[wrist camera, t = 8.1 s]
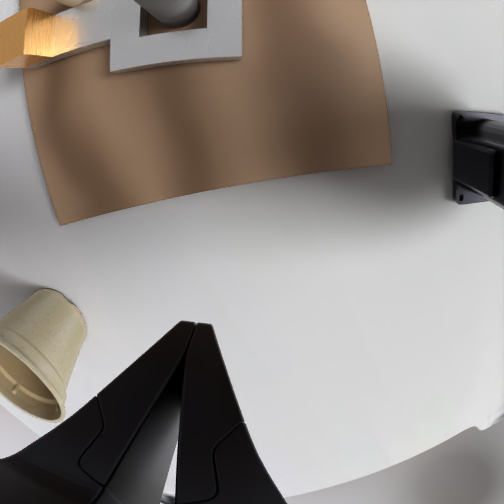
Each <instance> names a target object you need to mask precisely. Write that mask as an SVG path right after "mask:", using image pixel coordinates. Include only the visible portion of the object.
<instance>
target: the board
mask: <svg viewBox="0 0 504 504" xmlns="http://www.w3.org/2000/svg"><path fill="white" fill-rule="evenodd" d="M90 1H93V0H20V11H21V10H23V9H25V8H27V7H31V8H34V9H38V10H41V11H45V12H48V13H51V14H55V15H56V14H58V13H61V12H63V11H66V10H68V9H71V8H73V7H76V6H79V5H82V4H84V3H87V2H90ZM134 1H135V2H136V3H137V4H139V5H140V6H141V7H143V8H144V9H145V10H146V11H148V15H147V36H149V35H155V34H161V33H167V32H175V31H183V30H192V29H202V28H207V7H208V0H134ZM23 76H24V84H25V91H26V98H27V104H28V110H29V115H30V120H31V125H32V130H33V135H34V139H35V144H36V148H37V152H38V156H39V160H40V164H41V167H42V171H43V174H44V178H45V181H46V185H47V188H48V191H49V194H50V198H51V201H52V204H53V207H54V210H55V213H56V216H57V218H58V221H59V224H60V226H62V225H65V224H69V223H72V222H76V221H80V220H83V219H87V218H91V217H94V216H98V215H102V214H106V213H110V212H114V211H118V210H122V209H126V208H130V207H134V206H138V205H143V204H147V203H151V202H156V201H160V200H165V199H169V198H174V197H179V196H183V195H188V194H193V193H198V192H203V191H208V190H213V189H219V188H224V187H229V186H235V185H241V184H246V183H252V182H258V181H264V180H270V179H277V178H283V177H290V176H297V175H304V174H311V173H318V172H326V171H334V170H342V169H351V168H360V167H369V166H379V165H390V164H392V158H391V144H390V133H389V123H388V114H387V105H386V98H385V91H384V84H383V78H382V72H381V66H380V60H379V55H378V50H377V45H376V40H375V36H374V31H373V27H372V23H371V19H370V15H369V11H368V7H367V3H366V0H243V60H228V61H208V62H195V63H185V64H175V65H167V66H159V67H152V68H146V69H140V70H134V71H129V72H123V73H114V72H110V45H106V46H102V47H99V48H95V49H91V50H88V51H85V52H81V53H78V54H75V55H72V56H69V57H66V58H63V59H60V60H57V61H54V62H51V63H49V64H46V65H43V66H41V67H38V68H36V69H35V68H23Z"/></svg>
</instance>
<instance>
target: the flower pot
mask: <svg viewBox="0 0 504 504" xmlns="http://www.w3.org/2000/svg"><path fill="white" fill-rule="evenodd" d="M86 333H87V329H86V324H85V321H84V319H83V316H82V314H81V313H80V311H79V310H78V308H77V307H76V306H75V305H73V304H71V303H70V302H68V301H67V300H66V298H65V297H64V296H63V295H62V294H61V293H59V292H57V291H54V290H51V289H41V290H38V291H37V292H35V293H34V294H33V295H32V296H30V297H29V298H28V299H27V300H25V301H24V302H23V303H21V304H20V305H19V306H17V307H16V308H15V309H14V310H12V311H11V312H10V313H8V314H7V315H6V316H5V317H3V318H2V319H1V320H0V394H1V395H2V396H3V397H4V398H5V399H7V400H8V401H9V402H10V403H12V404H13V405H14V406H16V407H17V408H19V409H20V410H22V411H23V412H25V413H27V414H29V415H31V416H32V417H35V418H37V419H40V420H43V421H46V422H52V423H57V422H61V421H62V420H63V419H64V417H65V413H66V411H65V406H64V403H65V400H66V388H67V385H68V382H69V379H70V376H71V374H72V371H73V368H74V365H75V362H76V360H77V357H78V355H79V352H80V349H81V347H82V344H83V342H84V340H85V337H86Z"/></svg>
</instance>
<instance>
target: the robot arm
mask: <svg viewBox="0 0 504 504" xmlns="http://www.w3.org/2000/svg"><path fill="white" fill-rule="evenodd" d="M458 116H460V121H458ZM452 127H453V177H454V185H453V199H454V201H455V202H456V203H458V204H460V205H461V204H469V203H477V202H485V201H491V202H492V203H494V204H496V205H497V206H499V207H501V208H503V209H504V115H499V114H490V113H479V112H465V111H455V112H454V113H453V114H452ZM460 195H461V197H460V199H459V196H460ZM177 440H178V450H177V468H176V491H175V504H287V503H286V501H285V499H284V498H283V496H282V495H281V493H280V492H279V490H278V488H277V487H276V485H275V484H274V482H273V480H272V479H271V477H270V475H269V474H268V472H267V470H266V468H265V466H264V465H263V463H262V461H261V459H260V457H259V455H258V453H257V451H256V448H255V446H254V444H253V441H252V439H251V437H250V434H249V431H248V429H247V426H246V424H245V423H244V418H243V416H242V413H241V410H240V407H239V404H238V401H237V399H236V396H235V393H234V390H233V387H232V384H231V381H230V378H229V375H228V372H227V369H226V366H225V363H224V360H223V357H222V354H221V351H220V348H219V345H218V341H217V338H216V335H215V332H214V329H213V326H212V325H211V324H206V323H197V324H196V323H195V322H190V321H180V322H179V323H178V324H176V325H175V326H174V327H173V328H172V329H171V330H170V331H169V332H167V333H166V334H165V335H164V336H163V337H162V338H161V339H159V340H158V341H157V342H156V343H155V344H154V345H153V346H152V347H150V348H149V349H148V350H147V351H146V352H145V353H144V354H142V355H141V356H140V357H139V358H138V359H137V360H136V361H135V362H133V363H132V364H131V365H130V366H129V367H128V368H127V369H125V370H124V371H123V372H122V373H121V374H120V375H119V376H118V377H116V378H115V379H114V380H113V381H112V382H111V383H110V384H108V385H107V386H106V387H105V388H104V389H103V390H102V391H100V392H99V393H98V394H97V397H96V396H95V397H93V398H92V399H91V400H90V401H89V402H88V403H87V404H85V405H84V406H83V407H82V408H81V409H79V410H78V411H77V412H76V413H75V414H73V415H72V416H71V417H70V418H68V419H67V420H65V421H64V422H63V423H61V424H60V425H58V426H57V427H56V428H54V429H53V430H51V431H50V432H48V433H47V434H45V435H44V436H42V437H41V438H39V439H38V440H36V441H35V442H33V443H32V444H30V445H28V446H27V447H26V448H24V449H22V450H21V451H19V452H17V453H16V454H14V455H11V456H9V457H6V458H3V459H0V504H160V501H161V497H162V493H163V490H164V486H165V482H166V479H167V475H168V472H169V468H170V465H171V461H172V457H173V454H174V450H175V447H176V443H177Z"/></svg>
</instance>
